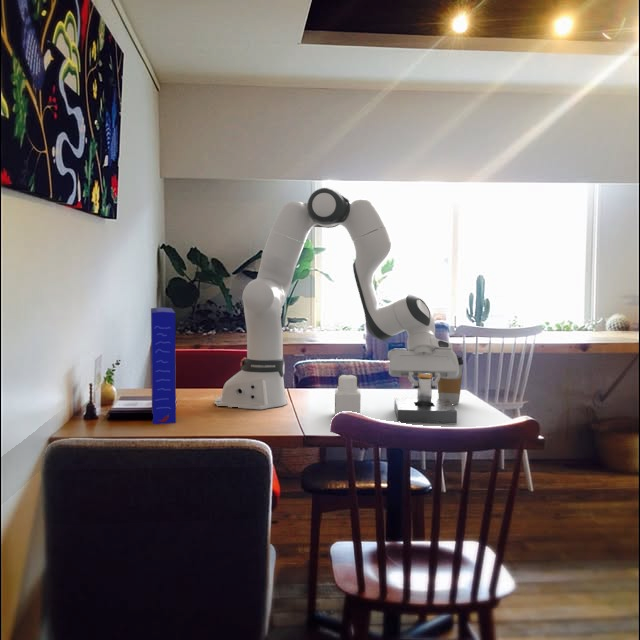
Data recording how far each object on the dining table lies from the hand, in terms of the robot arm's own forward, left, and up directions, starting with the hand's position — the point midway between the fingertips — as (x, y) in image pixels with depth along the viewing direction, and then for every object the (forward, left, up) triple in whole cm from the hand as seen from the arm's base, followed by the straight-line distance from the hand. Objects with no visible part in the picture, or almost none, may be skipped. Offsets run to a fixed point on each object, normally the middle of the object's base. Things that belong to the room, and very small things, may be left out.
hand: (424, 387), depth 174 cm
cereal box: (-74, -5, -9) cm, 75 cm away
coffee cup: (+10, +21, -9) cm, 25 cm away
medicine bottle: (-22, -1, -9) cm, 24 cm away
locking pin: (0, +1, -7) cm, 7 cm away
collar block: (0, +1, -8) cm, 9 cm away
